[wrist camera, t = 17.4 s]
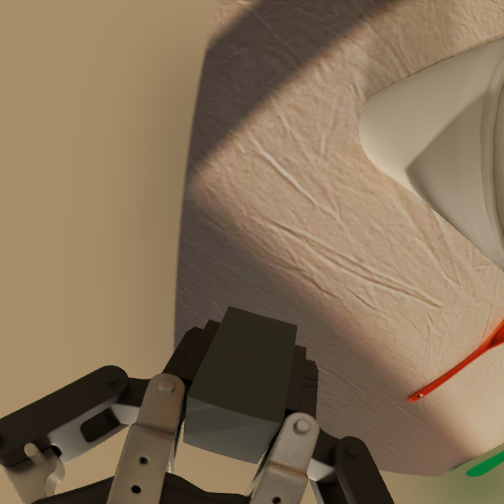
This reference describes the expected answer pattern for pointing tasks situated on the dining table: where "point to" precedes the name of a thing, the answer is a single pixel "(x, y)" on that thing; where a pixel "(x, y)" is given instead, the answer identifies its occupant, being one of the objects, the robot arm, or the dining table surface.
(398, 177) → the beverage can
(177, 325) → the dining table surface
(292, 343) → the dark gray rectangular block
